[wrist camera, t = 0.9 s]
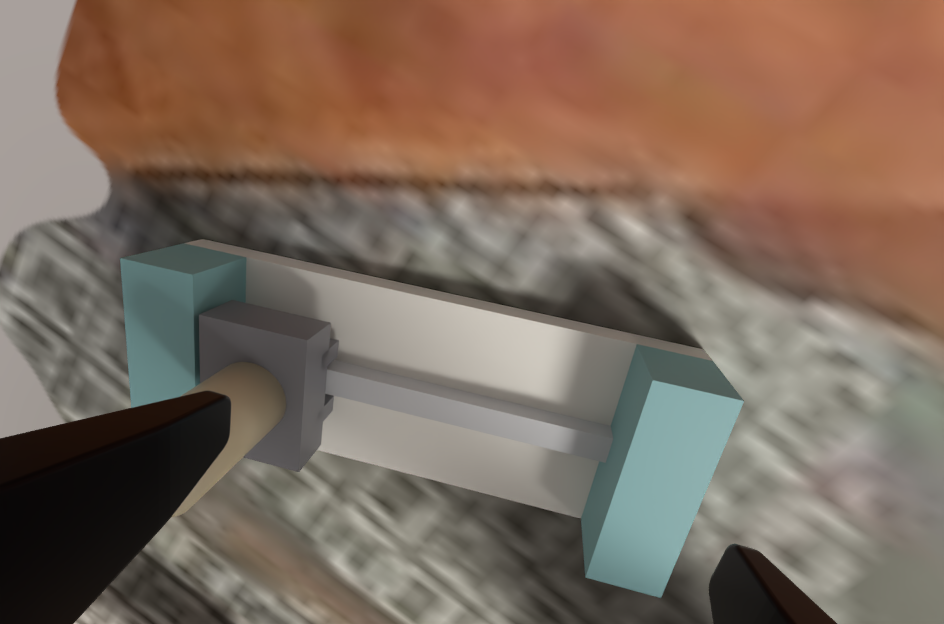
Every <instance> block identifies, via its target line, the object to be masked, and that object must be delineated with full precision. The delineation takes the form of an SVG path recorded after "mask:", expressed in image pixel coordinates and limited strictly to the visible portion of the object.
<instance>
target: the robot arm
mask: <svg viewBox="0 0 944 624" xmlns="http://www.w3.org/2000/svg"><path fill="white" fill-rule="evenodd" d="M230 425H231V399H230V398H229V397H228V396H227V395H224V394H220V393H217V392H214V391H209V390H206V391H201V392H197V393H193V394H189V395H184V396H180V397H176V398H172V399H167V400H163V401H159V402H154V403H150V404H146V405H142V406H137V407H133V408H129V409H124V410H120V411H116V412H112V413H107V414H103V415H99V416H94V417H90V418H86V419H82V420H77V421H73V422H69V423H65V424H60V425H56V426H52V427H48V428H43V429H39V430H35V431H30V432H26V433H22V434H17V435H14V436H9V437H5V438H0V624H73V623H74V622H75V621H76V620H77V619H78V618H79V617H80V616H81V615H82V614H83V613H84V612H85V610H86V609H87V608H88V607H89V606H90V605H91V604H92V603H93V602H94V601H95V600H96V599H97V597H98V596H99V595H100V594H101V593H102V592H103V591H104V590H105V589H106V588H107V587H108V586H109V584H110V583H111V582H112V581H113V580H114V579H115V578H116V577H117V576H118V575H119V574H120V573H121V571H122V570H123V569H124V568H125V567H126V566H127V565H128V564H129V563H130V562H131V561H132V560H133V558H134V557H135V556H136V555H137V554H138V553H139V552H140V551H141V550H142V549H143V548H144V547H145V545H146V544H147V543H148V542H149V541H150V540H151V539H152V538H153V537H154V536H155V535H156V534H157V532H158V531H159V530H160V529H161V528H162V527H163V526H164V525H165V524H166V522H167V521H168V520H169V519H170V518H171V517H172V515H173V514H174V513H175V512H176V510H177V509H178V508H179V507H180V505H181V504H182V503H183V502H184V500H185V499H186V498H187V496H188V495H189V494H190V492H191V491H192V490H193V488H194V487H195V486H196V484H197V483H198V482H199V480H200V479H201V478H202V477H203V475H204V474H205V473H206V471H207V470H208V469H209V467H210V466H211V465H212V463H213V462H214V461H215V459H216V458H217V457H218V456H219V454H220V453H221V452H222V450H223V449H224V447H225V446H226V444H227V442H228V440H229V436H230ZM709 596H710V603H711V610H712V616H713V623H714V624H837V623H836V622H835V621H834V620H833V619H832V618H830V617H829V616H828V615H827V614H826V613H825V612H824V611H823V610H822V609H821V608H820V607H819V606H818V605H816V604H815V603H814V602H813V601H812V600H811V599H810V598H809V597H808V596H807V595H806V594H805V593H804V592H802V591H801V590H800V589H799V588H798V587H797V586H796V585H795V584H794V583H793V582H792V581H791V580H790V579H789V578H787V577H786V576H785V575H784V574H783V573H782V572H781V571H780V570H779V569H778V568H777V567H776V566H775V565H773V564H772V563H771V562H770V561H769V560H768V559H767V558H766V557H765V556H764V555H763V554H762V553H760V552H759V551H757V550H755V549H752V548H748V547H745V546H741V545H738V544H731V545H730V546H728V547H727V549H726V550H725V552H724V554H723V556H722V558H721V560H720V562H719V564H718V566H717V567H716V569H715V571H714V573H713V575H712V577H711V580H710V584H709Z"/></svg>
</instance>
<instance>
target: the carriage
mask: <svg viewBox="0 0 944 624" xmlns="http://www.w3.org/2000/svg"><path fill="white" fill-rule="evenodd" d="M330 329H331V323H330V322H326V321H321V320H317V319H313V318H308V317H304V316H300V315H296V314H291V313H287V312H283V311H278V310H274V309H270V308H265V307H261V306H257V305H253V304H248V303H244V302H240V301H235V300H231V301H228V302H226V303H224V304H222V305H219V306H217V307H215V308H213V309H210V310H208V311H206V312H204V313H201V314H199V351H200V384H199V385H197V386H196V387H194V388H192V389H191V390H189V391H188V392H186V393H185V394H183V395H181V396H184V395H189V394H193V393H197V392H201V391H206V390H209V391H214V392H217V393H220V394H224V395H227V396H228V397H229V398H230V399H231V425H230V436H229V440H228V442H227V444H226V446H225V447H224V449H223V450H222V452H221V453H220V454H219V456H218V457H217V458H216V459H215V461H214V462H213V463H212V465H211V466H210V467H209V469H208V470H207V471H206V473H205V474H204V475H203V477H202V478H201V479H200V480H199V482H198V483H197V484H196V486H195V487H194V488H193V490H192V491H191V492H190V494H189V495H188V496H187V498H186V499H185V500H184V502H183V503H182V504H181V505H180V507H179V508H178V509H177V510H176V512H175V513H174V514H173V515H172V517H176V516H179V515H181V514H183V513H185V512H186V511H188V510H189V509H190V508H191V507H192V506H193V505H194V504H195V503H196V502H197V501H198V500H199V499H200V498H201V497H202V496H203V495H204V494H205V493H206V492H207V491H208V490H209V489H210V488H212V487H213V486H214V485H215V484H216V483H217V482H218V481H219V480H220V479H221V478H222V477H223V476H224V475H225V474H226V473H227V472H228V471H229V470H230V469H231V468H232V467H233V466H234V465H235V464H236V463H237V462H238V461H239V460H241V459H242V458H243V457H244V458H248V459H252V460H256V461H259V462H263V463H267V464H271V465H274V466H278V467H282V468H286V469H289V470H293V471H297V472H299V471H300V470H301V469H302V467H303V466H304V465H305V464H306V463H307V461H308V460H309V459H310V458H311V456H312V455H313V454H314V453H315V451H316V450H317V449H318V448H319V446H320V445H321V439H322V427H323V421H324V420H325V419H326V418H327V417H328V416H329V414H330V413H331V412H332V411H333V402H334V396H333V395H329V394H325V390H326V378H327V366H328V365H329V364H330V363H331V362H332V361H333V360H335V359H336V358H337V357H338V346H339V340H335V339H331V338H330Z"/></svg>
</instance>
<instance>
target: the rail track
mask: <svg viewBox="0 0 944 624" xmlns="http://www.w3.org/2000/svg"><path fill="white" fill-rule="evenodd" d="M120 263H121V277H122V290H123V303H124V316H125V330H126V343H127V356H128V370H129V383H130V396H131V408H133V407H137V406H142V405H146V404H150V403H154V402H159V401H163V400H167V399H172V398H176V397H180V396H181V395H183V394H185V393H186V392H188V391H189V390H191V389H192V388H194V387H196V386H197V385H199V384H200V351H199V314H201V313H204V312H206V311H208V310H210V309H213V308H215V307H217V306H219V305H222V304H224V303H226V302H228V301H231V300H235V301H240V302H244V303H248V304H253V305H257V306H261V307H265V308H270V309H274V310H278V311H283V312H287V313H291V314H296V315H300V316H304V317H308V318H313V319H317V320H321V321H326V322H330V323H331V329H330V338H331V339H335V340H339V346H338V357H337V358H336V359H335V360H333V361H332V362H331V363H330V364H329V365H328V366H327V378H326V390H325V394H329V395H333V396H334V402H333V411H332V412H331V413H330V414H329V416H328V417H327V418H326V419H325V420H324V421H323V427H322V439H321V445H320V446H319V448H318V449H317V450H319V451H323V452H327V453H331V454H335V455H339V456H342V457H346V458H350V459H354V460H358V461H362V462H366V463H369V464H373V465H377V466H381V467H385V468H389V469H392V470H396V471H400V472H404V473H408V474H412V475H415V476H419V477H423V478H427V479H431V480H435V481H438V482H442V483H446V484H450V485H454V486H458V487H461V488H465V489H469V490H473V491H477V492H481V493H484V494H488V495H492V496H496V497H500V498H504V499H507V500H511V501H515V502H519V503H523V504H527V505H530V506H534V507H538V508H542V509H546V510H550V511H554V512H557V513H561V514H565V515H569V516H573V517H577V518H580V519H581V526H582V539H583V553H584V566H585V578H589V579H593V580H596V581H600V582H604V583H607V584H611V585H615V586H618V587H622V588H626V589H629V590H633V591H637V592H640V593H644V594H648V595H651V596H655V597H659V598H661V597H662V594H663V592H664V590H665V587H666V585H667V582H668V580H669V578H670V575H671V573H672V571H673V568H674V566H675V564H676V561H677V559H678V556H679V554H680V552H681V549H682V547H683V545H684V542H685V540H686V537H687V535H688V533H689V530H690V528H691V526H692V523H693V521H694V518H695V516H696V514H697V511H698V509H699V507H700V504H701V502H702V500H703V497H704V495H705V492H706V490H707V488H708V485H709V483H710V481H711V478H712V476H713V473H714V471H715V469H716V466H717V464H718V462H719V459H720V457H721V454H722V452H723V450H724V447H725V445H726V443H727V440H728V438H729V436H730V433H731V431H732V428H733V426H734V424H735V421H736V419H737V417H738V414H739V412H740V409H741V407H742V405H743V402H744V400H743V399H742V398H741V396H740V395H739V394H738V393H737V391H736V390H735V389H734V387H733V386H732V385H731V384H730V382H729V381H728V380H727V379H726V377H725V376H724V375H723V373H722V372H721V371H720V370H719V368H718V367H717V366H716V364H715V363H714V362H713V361H712V359H711V358H710V357H709V355H708V354H707V353H706V352H705V350H704V349H700V348H695V347H691V346H686V345H682V344H677V343H672V342H668V341H663V340H659V339H654V338H650V337H645V336H641V335H636V334H632V333H627V332H623V331H618V330H613V329H609V328H604V327H600V326H595V325H591V324H586V323H582V322H577V321H573V320H568V319H564V318H559V317H555V316H550V315H545V314H541V313H536V312H532V311H527V310H523V309H518V308H514V307H509V306H505V305H500V304H496V303H491V302H486V301H482V300H477V299H473V298H468V297H464V296H459V295H455V294H450V293H446V292H441V291H437V290H432V289H428V288H423V287H418V286H414V285H409V284H405V283H400V282H396V281H391V280H387V279H382V278H378V277H373V276H369V275H364V274H360V273H355V272H350V271H346V270H341V269H337V268H332V267H328V266H323V265H319V264H314V263H310V262H305V261H301V260H296V259H291V258H287V257H282V256H278V255H273V254H269V253H264V252H260V251H255V250H251V249H246V248H242V247H237V246H233V245H228V244H223V243H219V242H214V241H210V240H205V239H200V240H196V241H192V242H187V243H183V244H179V245H174V246H170V247H166V248H162V249H157V250H153V251H149V252H144V253H140V254H136V255H132V256H127V257H123V258H120Z"/></svg>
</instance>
